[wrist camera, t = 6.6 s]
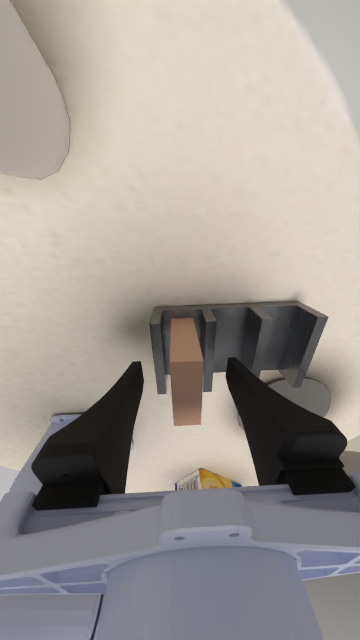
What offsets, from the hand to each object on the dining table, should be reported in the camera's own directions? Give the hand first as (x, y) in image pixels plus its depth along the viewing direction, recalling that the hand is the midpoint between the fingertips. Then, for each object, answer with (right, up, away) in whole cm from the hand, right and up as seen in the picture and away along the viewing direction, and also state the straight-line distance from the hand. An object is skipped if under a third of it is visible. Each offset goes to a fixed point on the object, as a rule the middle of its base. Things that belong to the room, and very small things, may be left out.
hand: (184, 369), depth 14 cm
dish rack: (+4, +2, +4) cm, 6 cm away
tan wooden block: (0, +1, +3) cm, 3 cm away
